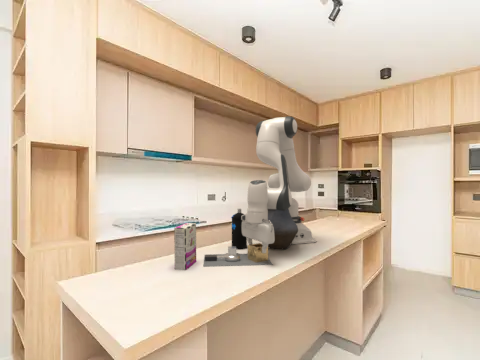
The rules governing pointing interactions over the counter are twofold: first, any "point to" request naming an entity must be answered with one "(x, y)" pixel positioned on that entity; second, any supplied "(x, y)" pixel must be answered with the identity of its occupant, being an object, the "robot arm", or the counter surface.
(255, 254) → the brass square frame
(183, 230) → the candy bar box
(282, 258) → the counter surface
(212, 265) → the mat
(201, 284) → the counter surface
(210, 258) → the ratchet
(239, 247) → the aerosol can
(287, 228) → the pitcher
